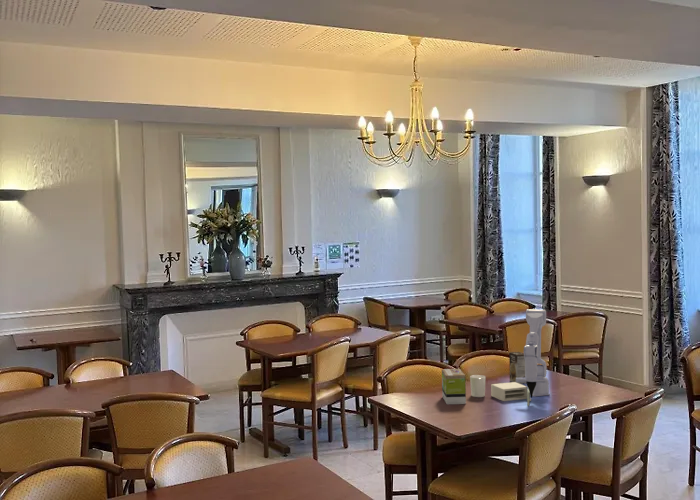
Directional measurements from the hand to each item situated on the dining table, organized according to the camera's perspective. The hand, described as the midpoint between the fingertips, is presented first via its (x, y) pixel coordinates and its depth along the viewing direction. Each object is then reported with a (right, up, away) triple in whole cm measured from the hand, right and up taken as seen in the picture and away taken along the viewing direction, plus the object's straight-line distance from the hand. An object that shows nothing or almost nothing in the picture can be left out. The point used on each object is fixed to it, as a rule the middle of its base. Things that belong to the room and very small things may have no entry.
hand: (531, 397), depth 334 cm
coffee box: (+5, -2, +48) cm, 48 cm away
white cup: (-23, -3, +18) cm, 29 cm away
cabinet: (-8, -3, +14) cm, 16 cm away
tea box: (-37, -4, +9) cm, 38 cm away
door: (0, -3, +3) cm, 4 cm away
